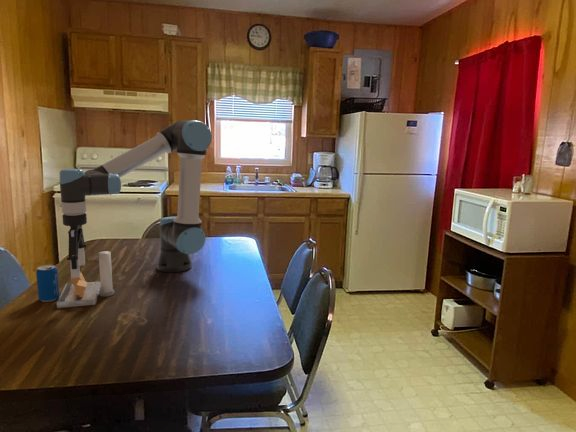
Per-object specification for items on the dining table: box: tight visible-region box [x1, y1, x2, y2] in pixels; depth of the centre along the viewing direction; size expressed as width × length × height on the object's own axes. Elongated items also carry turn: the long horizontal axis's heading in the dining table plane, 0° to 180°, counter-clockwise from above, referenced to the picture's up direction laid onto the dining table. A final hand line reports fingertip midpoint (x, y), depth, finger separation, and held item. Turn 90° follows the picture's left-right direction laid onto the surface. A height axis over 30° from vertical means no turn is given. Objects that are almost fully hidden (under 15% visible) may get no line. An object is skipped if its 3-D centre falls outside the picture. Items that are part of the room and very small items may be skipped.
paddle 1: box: [70, 271, 87, 289], centre depth 155 cm, size 3×6×5 cm, turn 18°
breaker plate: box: [56, 281, 101, 309], centre depth 152 cm, size 12×18×2 cm, turn 19°
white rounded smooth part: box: [98, 250, 116, 298], centre depth 153 cm, size 5×5×16 cm
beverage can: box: [35, 264, 60, 303], centre depth 147 cm, size 6×6×12 cm
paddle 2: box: [73, 280, 89, 298], centre depth 147 cm, size 3×6×5 cm, turn 19°
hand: (78, 271), depth 150 cm, fingers open, 13 cm apart
